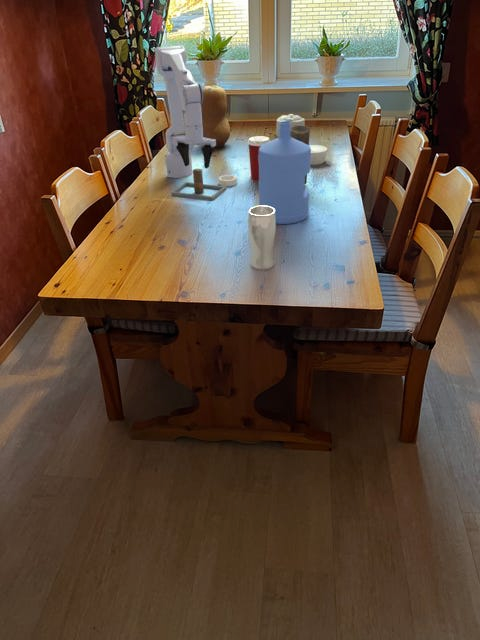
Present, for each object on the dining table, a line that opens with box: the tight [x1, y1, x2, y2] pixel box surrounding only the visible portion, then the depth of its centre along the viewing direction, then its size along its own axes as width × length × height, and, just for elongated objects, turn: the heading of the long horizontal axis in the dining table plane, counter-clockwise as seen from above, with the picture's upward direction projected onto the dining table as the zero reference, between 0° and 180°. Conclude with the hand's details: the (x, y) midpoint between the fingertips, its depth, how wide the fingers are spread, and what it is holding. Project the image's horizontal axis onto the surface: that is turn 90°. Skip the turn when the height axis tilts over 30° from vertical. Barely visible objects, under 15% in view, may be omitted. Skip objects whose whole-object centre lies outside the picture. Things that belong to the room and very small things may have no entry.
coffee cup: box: [247, 135, 271, 182], centre depth 181 cm, size 8×8×15 cm
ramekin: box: [309, 144, 329, 166], centre depth 200 cm, size 11×11×5 cm
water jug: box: [258, 121, 311, 225], centre depth 149 cm, size 16×16×28 cm
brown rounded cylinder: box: [290, 125, 311, 185], centre depth 173 cm, size 8×7×20 cm
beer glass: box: [247, 205, 277, 271], centre depth 126 cm, size 7×7×15 cm
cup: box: [218, 174, 238, 187], centre depth 181 cm, size 6×6×3 cm
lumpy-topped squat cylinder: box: [275, 113, 306, 138], centre depth 234 cm, size 10×13×9 cm
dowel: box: [192, 168, 205, 195], centre depth 172 cm, size 3×3×8 cm
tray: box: [171, 181, 227, 201], centre depth 174 cm, size 16×11×2 cm
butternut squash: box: [200, 85, 231, 149], centre depth 218 cm, size 14×13×25 cm
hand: (197, 166), depth 169 cm, fingers open, 7 cm apart
